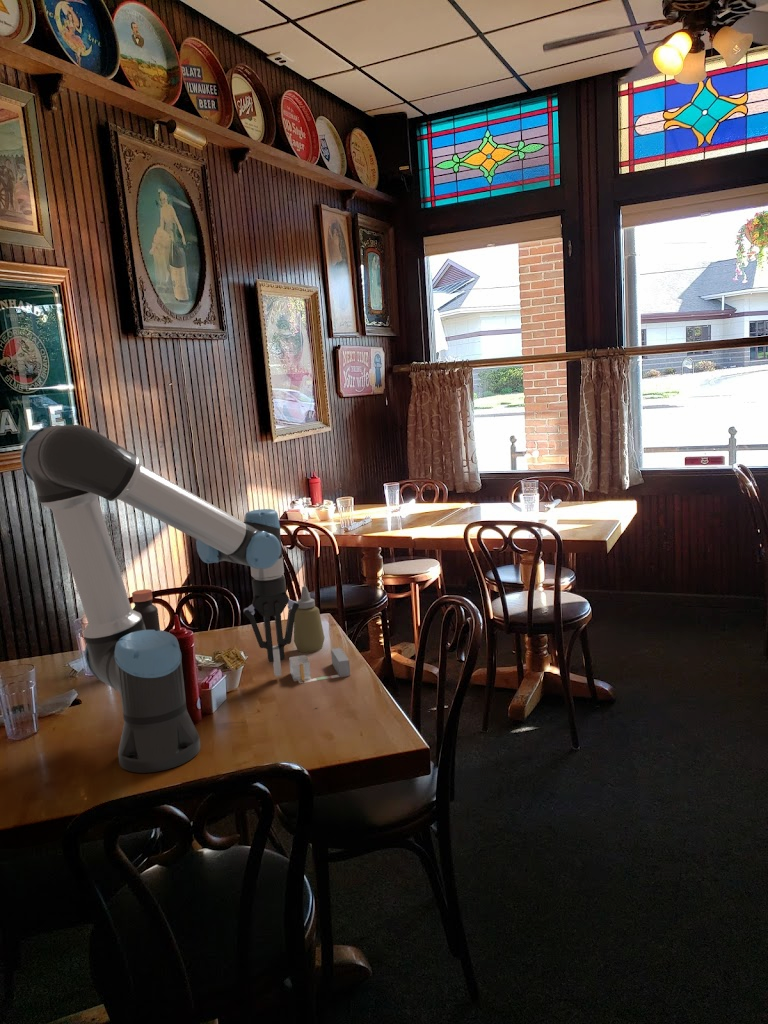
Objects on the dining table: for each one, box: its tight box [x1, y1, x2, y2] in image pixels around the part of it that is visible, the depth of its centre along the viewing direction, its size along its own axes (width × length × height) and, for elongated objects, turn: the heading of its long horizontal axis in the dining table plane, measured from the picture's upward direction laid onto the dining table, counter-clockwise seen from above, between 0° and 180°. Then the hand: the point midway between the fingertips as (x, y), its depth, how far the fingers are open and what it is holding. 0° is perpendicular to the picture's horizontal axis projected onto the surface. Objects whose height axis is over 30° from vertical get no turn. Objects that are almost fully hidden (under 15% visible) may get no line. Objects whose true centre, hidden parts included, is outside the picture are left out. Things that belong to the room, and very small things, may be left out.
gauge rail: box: [297, 647, 351, 684], centre depth 181 cm, size 10×15×5 cm, turn 105°
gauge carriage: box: [288, 654, 312, 682], centre depth 179 cm, size 7×4×4 cm, turn 15°
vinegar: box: [131, 588, 161, 631], centre depth 199 cm, size 7×7×20 cm
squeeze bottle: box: [293, 586, 325, 653], centre depth 200 cm, size 8×8×18 cm
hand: (277, 674), depth 179 cm, fingers closed
